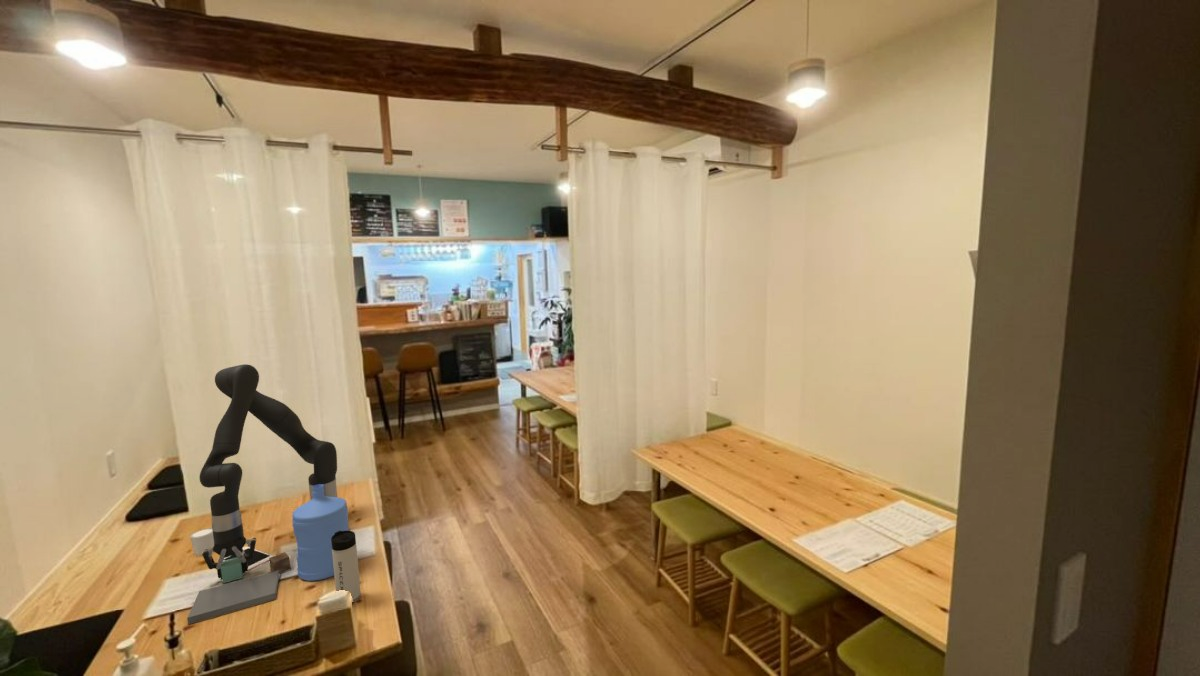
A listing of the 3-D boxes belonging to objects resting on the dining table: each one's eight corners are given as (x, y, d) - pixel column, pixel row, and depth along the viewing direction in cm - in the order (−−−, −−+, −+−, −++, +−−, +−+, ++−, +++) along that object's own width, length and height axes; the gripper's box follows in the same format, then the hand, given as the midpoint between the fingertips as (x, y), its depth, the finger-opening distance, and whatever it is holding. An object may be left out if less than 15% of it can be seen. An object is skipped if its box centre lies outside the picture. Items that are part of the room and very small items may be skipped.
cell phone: (245, 548, 172) (245, 545, 172) (275, 559, 164) (275, 556, 164) (217, 561, 164) (217, 558, 164) (247, 572, 156) (246, 570, 156)
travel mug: (353, 589, 144) (347, 526, 142) (365, 597, 140) (359, 532, 139) (332, 601, 139) (326, 536, 137) (343, 609, 135) (337, 542, 134)
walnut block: (286, 564, 160) (284, 552, 159) (290, 569, 157) (289, 556, 156) (270, 571, 156) (269, 558, 156) (274, 576, 153) (273, 562, 153)
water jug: (363, 558, 162) (356, 479, 159) (322, 585, 147) (314, 498, 144) (328, 552, 167) (321, 474, 164) (286, 577, 152) (277, 493, 149)
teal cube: (244, 570, 156) (242, 555, 156) (242, 577, 152) (240, 563, 151) (225, 575, 154) (223, 560, 153) (222, 583, 149) (220, 568, 149)
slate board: (279, 575, 153) (278, 570, 153) (275, 599, 141) (274, 593, 141) (200, 597, 143) (199, 591, 143) (188, 624, 131) (187, 617, 131)
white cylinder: (202, 557, 166) (200, 538, 166) (186, 555, 168) (184, 536, 167) (221, 547, 173) (219, 528, 172) (206, 545, 174) (204, 527, 174)
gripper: (256, 514, 158) (262, 562, 160) (201, 526, 151) (207, 576, 153) (253, 523, 151) (259, 573, 153) (195, 536, 144) (202, 589, 146)
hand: (233, 575), depth 153 cm, fingers closed on teal cube, 5 cm apart
